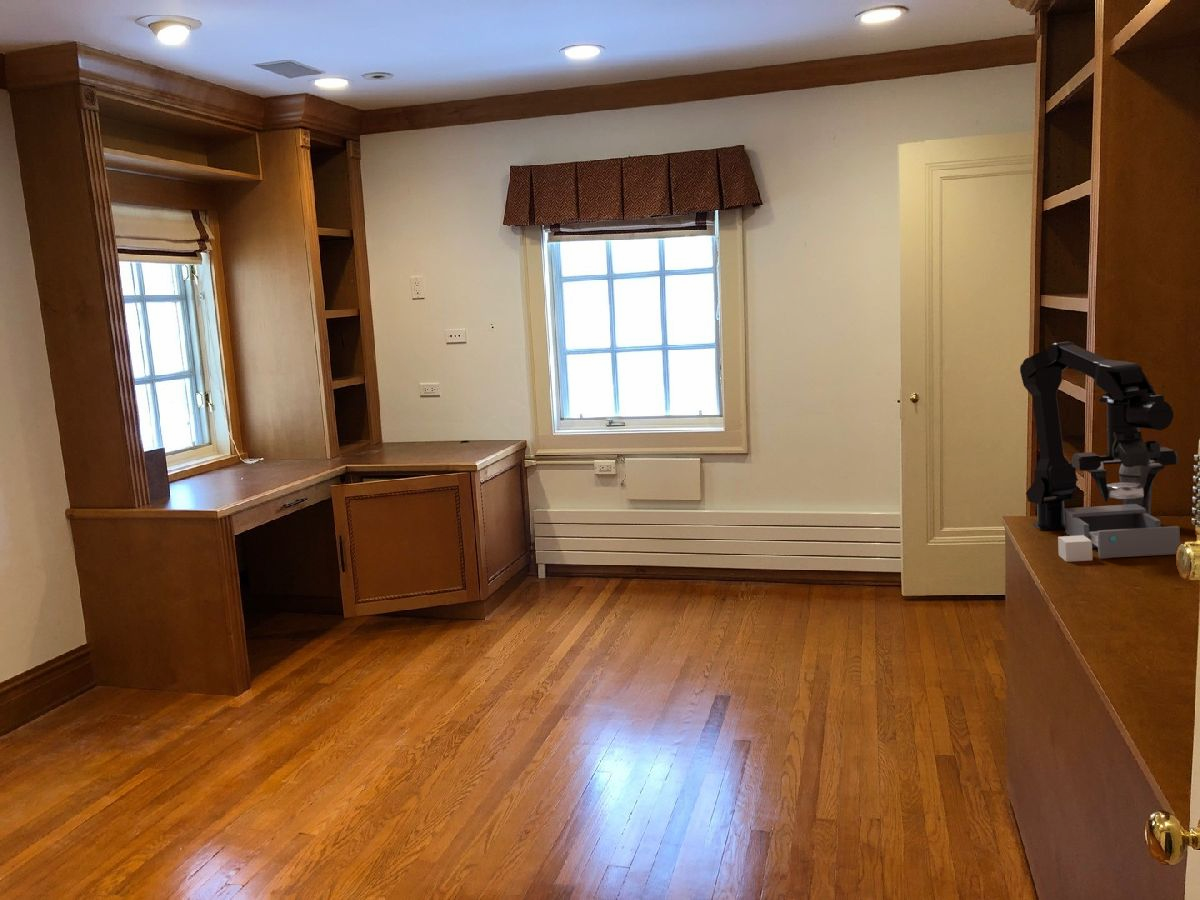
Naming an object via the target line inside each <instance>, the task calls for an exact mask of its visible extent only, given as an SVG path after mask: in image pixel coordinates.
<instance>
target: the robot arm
mask: <svg viewBox="0 0 1200 900" xmlns="http://www.w3.org/2000/svg"><path fill="white" fill-rule="evenodd" d="M1068 367H1069V368H1070V369H1073V370H1075V371H1077V372H1079V373H1082V374H1083V375H1086V376H1088V377H1090V378H1092V379H1093V380H1094V383H1095V385H1096V386H1097V387H1098V388H1099V389H1101V390H1102V391H1103V392H1104V395H1103V396H1102V397H1100V399H1098V401H1099V403H1102V404H1106V421H1107V423H1106V424H1107V428H1106V429H1105V435H1106V436H1107V448H1106V449H1105V453H1106V455H1098V454H1096V453H1094V452H1092V451H1091V452H1089V451H1088V452H1080V453H1079V452H1077V453H1076V452H1075V453H1073V455H1072V456H1071V463H1070V461H1069V460H1068V459H1067V458H1066V457H1065V453H1064V447H1063V438H1062V437H1063V436H1062V429H1061V422H1060V413H1059V406H1058V399H1057V392H1058V391H1059V388H1060V386H1061V384H1062V382H1063V381H1062V380H1063V371H1065V370H1066V369H1067V368H1068ZM1142 369H1143V368H1142V366H1141V365H1139V363H1136V362H1132V361H1131V362H1130V361H1125V360H1112V359H1108V358H1105V357H1103V356H1102V355H1099V354H1096V353H1094V352H1092V351H1090V350H1087V349H1085V348H1082V347H1081V346H1079V345H1077V344H1076V343H1074V342H1071V341H1062V342H1061V341H1060V342H1054V343H1052V344H1050V345H1049V346H1048V347H1046V348H1045V349H1043V350H1040V351H1039V352H1037V353H1035V354H1033V355H1031V356H1029V357H1027V358H1026V357H1025V359H1024V360H1023V361H1022V363H1021V364H1020V367H1019V371H1020V377H1021V380H1022V385H1023V386H1024V387H1023V388H1025V389H1026V391H1028V393H1029V394H1030V395H1031V398H1032V404H1033V411H1034V418H1035V419H1034V420H1035V427H1036V428H1035V429H1036V434H1037V435H1036V436H1037V437H1036V438H1037V444H1038V450H1039V460H1038V462H1037V465H1036V466H1035V469H1034V472H1033V473H1034V474H1033V475H1034V482H1032V484H1031V485H1030V486H1029V488H1028V489H1027V491H1026V493H1025V495H1026V498H1027V501H1028V502H1030V503H1033V504H1036V513H1037V514H1036V515H1037V521H1032V525H1033V526H1035V527H1036V528H1037V529H1039V530H1040V531H1047V530H1062V529H1063V530H1065V510H1064V508H1065V501H1068V500H1069V501H1070V500H1071V501H1072V500H1073V499H1074V495H1075V492H1076V491H1075V490H1076V489H1077V481H1079V479H1078V477H1077V470H1078V471H1083V472H1087V473H1089V474H1090V475H1091V477H1092V478H1093V481H1094V482H1095V484H1096V486H1097V489H1098V490H1099V493H1100V495H1101V498H1102V499H1103V501H1105V502H1108V499H1109V497H1108V491H1107V484H1108V483H1107V474H1108V470H1106V469H1104V465H1105V466H1106V465H1117V464H1120V465H1121V464H1123V466H1125V467H1133V466H1140V478H1141V484H1142V485H1144V496H1143V497H1142V499H1146V497H1147V494H1148V492H1149V489H1150V486H1151V484H1152V481H1153V479H1155V478H1156V476H1157V474H1158V473H1159V472H1160V471H1162V470H1165V469H1166V468H1167V466H1173V465H1175V466H1176V465H1178V464H1179V456H1178V455H1179V454H1178V453H1177V451H1175V450H1174V449H1171V448H1168V447H1166V446H1162V447H1161V443H1160V441H1159V440H1158V439H1154V440H1153V439H1152V440H1147V441H1144V440H1143V438H1142V437H1143V435H1142V431H1141V430H1140V429H1147V430H1154V431H1155V430H1156V431H1163V430H1165V429H1167V428H1168V427H1169V426H1171V423H1172V422H1173V418H1174V411H1173V408H1172V407H1171V405H1170V403H1168V402H1167V401H1165V396H1164V395H1163V394H1156V391H1155V390H1154V387H1153V385H1152V384H1151V383H1150V381H1149V380H1148V378H1147V376H1146V374H1145V373H1144V371H1143V370H1142ZM1153 482H1154V481H1153ZM1152 485H1153V484H1152Z"/></svg>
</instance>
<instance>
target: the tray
mask: <svg viewBox="0 0 1200 900" xmlns="http://www.w3.org/2000/svg"><path fill="white" fill-rule="evenodd" d="M1180 532H1181V530H1180V526H1178V525H1172V526H1171V525H1170V526H1161V527H1150V528H1133V529H1116V530H1099V531H1096V532H1089V539H1090V540H1091V541H1092V543H1093V544H1094V545H1095V546H1097V547H1096V548H1097V555H1098V558H1099V559H1108V558H1109V559H1110V558H1126V557H1129V558H1131V557H1146V556H1147V557H1148V556H1150V557H1151V556H1165V555H1168V556H1169V555H1177V554H1176V548H1177V546H1178V545H1179V544H1180V545H1181V539H1180V538H1181V535H1180V534H1181V533H1180Z"/></svg>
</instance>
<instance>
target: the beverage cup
mask: <svg viewBox="0 0 1200 900" xmlns="http://www.w3.org/2000/svg"><path fill="white" fill-rule="evenodd" d="M1118 476H1119V483H1123V482H1126V483H1138V484H1141V478H1140V466H1133V467H1125V466H1123V464H1122V463H1121V464H1120V467H1119V471H1118ZM1154 479H1155V478H1154ZM1154 479H1153V481H1152V484H1151V486H1150V489H1149V492H1148V494H1147V497H1146V499H1142V497H1140V498H1135V499H1122V500H1123V501H1122V502H1123V505H1127V504H1137V505H1139V506H1141V507H1143V508H1145V509H1146V513H1148V514H1149V515H1151V509H1152V507H1151V506H1152V495H1153V493H1152V492H1153V485H1154V484H1153V483H1154Z"/></svg>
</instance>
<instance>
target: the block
mask: <svg viewBox="0 0 1200 900" xmlns="http://www.w3.org/2000/svg"><path fill="white" fill-rule="evenodd" d="M1057 542H1058V543H1057V544H1058V545H1057V548H1058V550H1057V551H1058V556H1059V557H1060V559H1061V558H1062V560H1064V561H1065V562H1066V563H1069V562H1070V563H1071V562H1086V561H1093V548H1092V541H1091V540H1090V539H1088V538H1087V537H1085V536H1084V535H1079V536H1068V535H1064V536H1058V537H1057Z"/></svg>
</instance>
